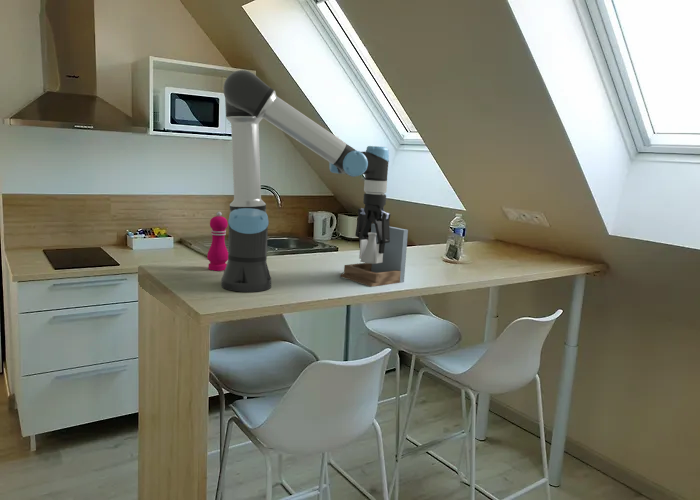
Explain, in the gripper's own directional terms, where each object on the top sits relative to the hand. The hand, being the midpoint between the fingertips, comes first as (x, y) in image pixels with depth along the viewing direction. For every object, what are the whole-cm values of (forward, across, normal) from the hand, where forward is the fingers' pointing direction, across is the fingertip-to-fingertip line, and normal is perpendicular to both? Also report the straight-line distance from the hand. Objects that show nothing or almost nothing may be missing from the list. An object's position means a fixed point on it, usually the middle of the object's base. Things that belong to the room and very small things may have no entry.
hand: (370, 260), depth 198 cm
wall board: (+7, 0, -8) cm, 10 cm away
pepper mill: (+7, +36, +38) cm, 53 cm away
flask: (+1, 0, 0) cm, 1 cm away
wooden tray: (+7, 0, 0) cm, 7 cm away
